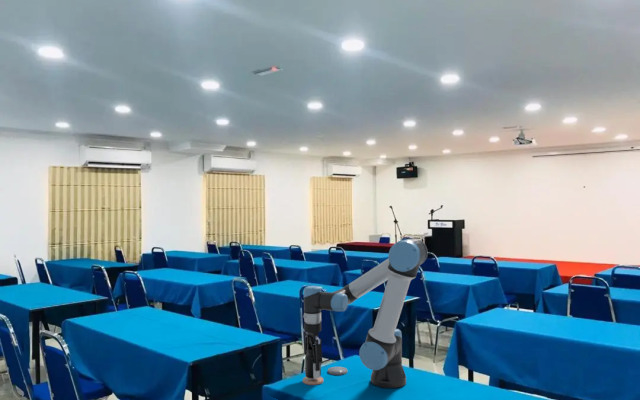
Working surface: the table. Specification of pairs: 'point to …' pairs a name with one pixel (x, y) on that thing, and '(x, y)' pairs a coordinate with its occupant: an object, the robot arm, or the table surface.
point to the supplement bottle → (310, 364)
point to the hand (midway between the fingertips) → (313, 374)
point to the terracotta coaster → (312, 381)
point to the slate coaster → (337, 370)
